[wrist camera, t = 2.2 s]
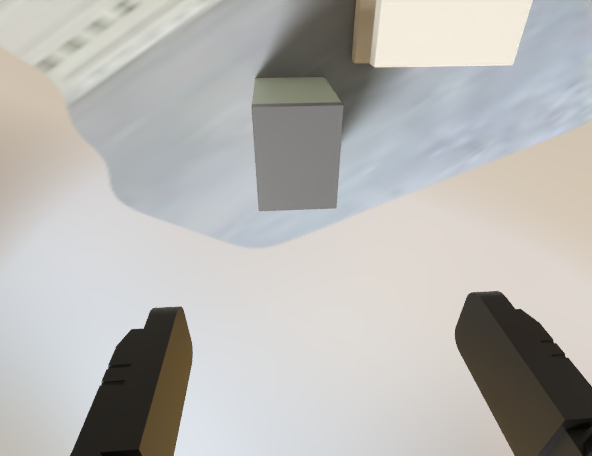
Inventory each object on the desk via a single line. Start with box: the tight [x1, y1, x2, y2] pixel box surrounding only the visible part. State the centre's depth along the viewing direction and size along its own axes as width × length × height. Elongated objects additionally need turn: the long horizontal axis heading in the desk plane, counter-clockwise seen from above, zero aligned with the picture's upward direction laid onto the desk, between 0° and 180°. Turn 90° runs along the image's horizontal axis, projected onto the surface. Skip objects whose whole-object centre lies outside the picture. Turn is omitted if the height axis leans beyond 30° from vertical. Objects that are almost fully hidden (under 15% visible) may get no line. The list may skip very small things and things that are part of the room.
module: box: [252, 77, 344, 211], centre depth 22 cm, size 5×6×7 cm
